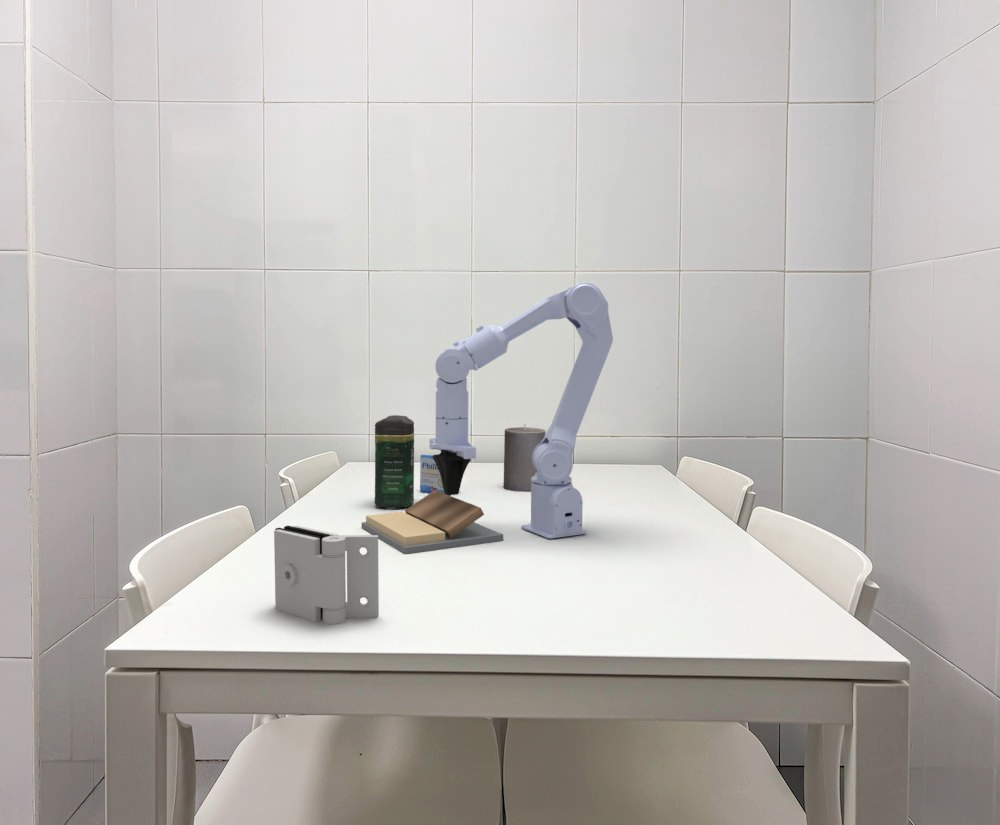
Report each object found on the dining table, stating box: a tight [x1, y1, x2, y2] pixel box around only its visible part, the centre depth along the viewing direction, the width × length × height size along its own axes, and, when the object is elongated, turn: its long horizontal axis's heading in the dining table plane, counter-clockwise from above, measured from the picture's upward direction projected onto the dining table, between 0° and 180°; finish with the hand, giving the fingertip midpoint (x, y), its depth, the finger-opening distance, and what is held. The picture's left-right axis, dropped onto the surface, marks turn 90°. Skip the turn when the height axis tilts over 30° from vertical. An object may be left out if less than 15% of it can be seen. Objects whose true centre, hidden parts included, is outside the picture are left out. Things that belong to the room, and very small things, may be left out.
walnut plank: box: [404, 490, 485, 538], centre depth 136 cm, size 18×7×1 cm, turn 30°
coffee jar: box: [374, 414, 415, 510], centre depth 158 cm, size 10×8×19 cm
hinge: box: [273, 525, 380, 625], centre depth 94 cm, size 14×5×10 cm, turn 67°
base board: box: [361, 511, 504, 555], centre depth 135 cm, size 20×18×2 cm
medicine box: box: [419, 452, 445, 494], centre depth 173 cm, size 8×4×9 cm, turn 62°
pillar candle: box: [503, 423, 547, 492], centre depth 179 cm, size 10×10×15 cm
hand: (451, 494), depth 136 cm, fingers closed
